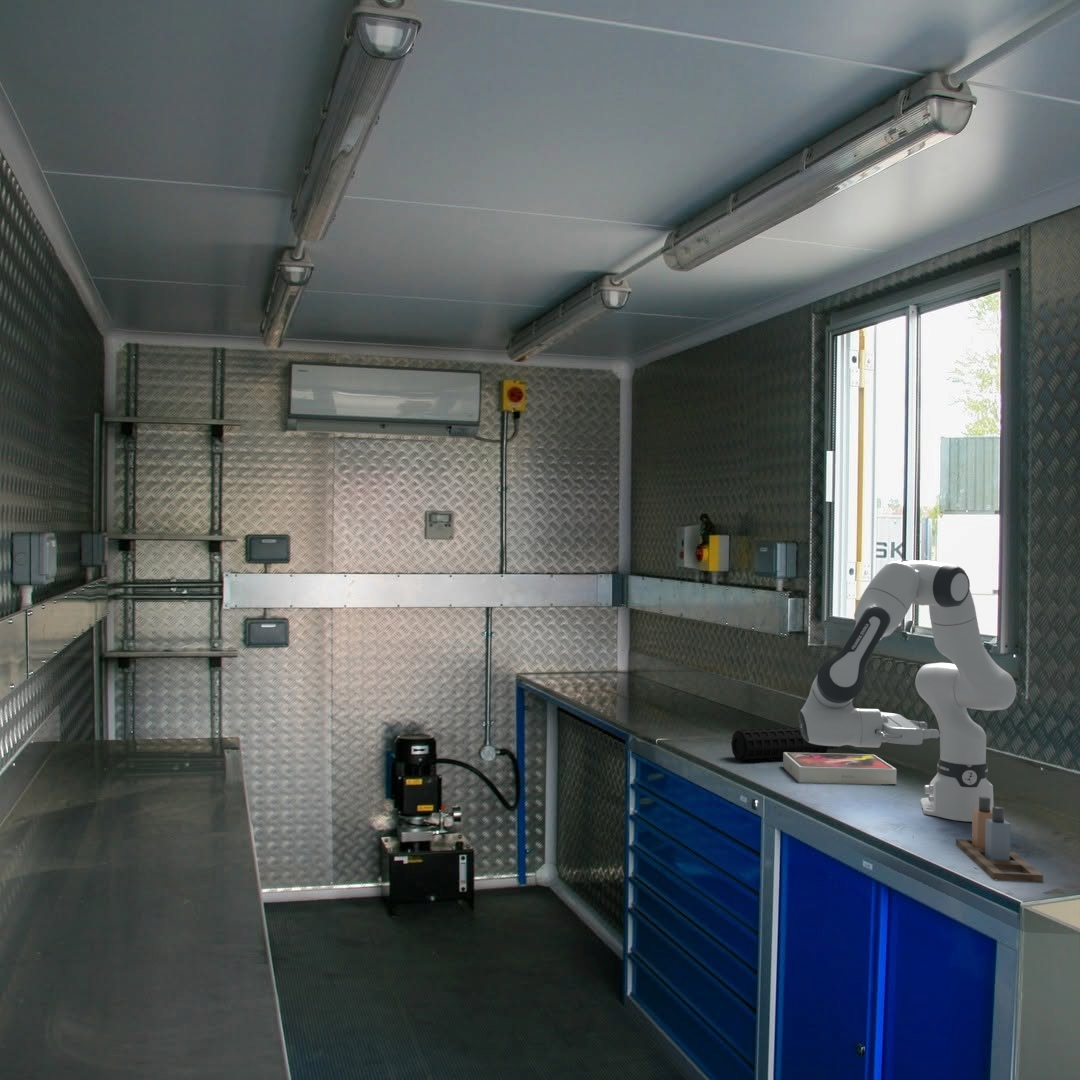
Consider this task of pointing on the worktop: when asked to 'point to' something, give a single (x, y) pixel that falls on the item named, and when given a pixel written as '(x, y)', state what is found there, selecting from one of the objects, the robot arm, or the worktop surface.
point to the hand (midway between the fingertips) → (932, 729)
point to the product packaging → (839, 768)
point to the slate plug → (997, 836)
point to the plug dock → (1000, 864)
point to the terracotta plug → (980, 822)
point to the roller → (771, 744)
